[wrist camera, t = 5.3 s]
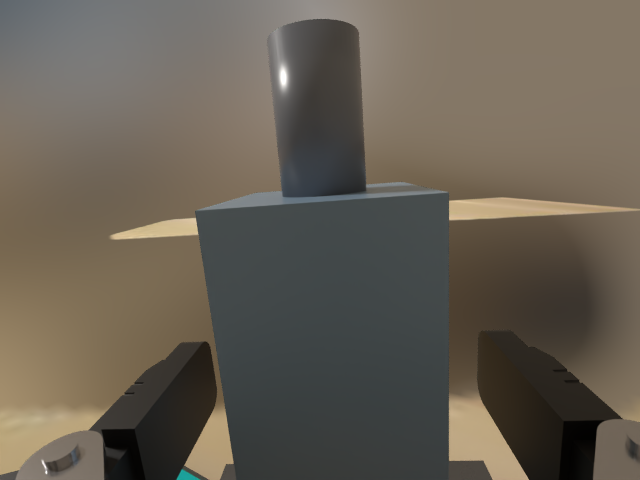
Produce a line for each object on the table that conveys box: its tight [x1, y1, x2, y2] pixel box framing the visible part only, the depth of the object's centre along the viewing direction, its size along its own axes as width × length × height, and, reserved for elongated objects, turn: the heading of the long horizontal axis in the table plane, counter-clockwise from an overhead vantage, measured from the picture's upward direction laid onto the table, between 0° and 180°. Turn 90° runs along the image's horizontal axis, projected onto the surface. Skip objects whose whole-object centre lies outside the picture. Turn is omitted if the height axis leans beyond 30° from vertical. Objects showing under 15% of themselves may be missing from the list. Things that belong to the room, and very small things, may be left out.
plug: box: [195, 19, 449, 480], centre depth 8 cm, size 4×4×16 cm
